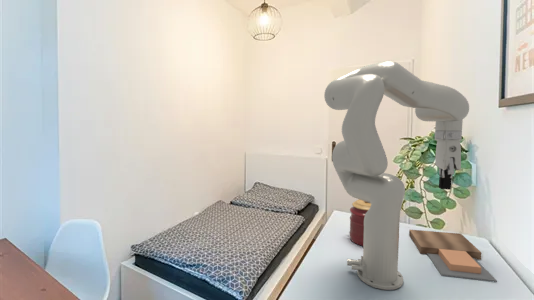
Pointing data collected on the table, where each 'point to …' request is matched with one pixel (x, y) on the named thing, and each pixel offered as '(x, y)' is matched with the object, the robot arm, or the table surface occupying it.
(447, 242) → the brown wooden board
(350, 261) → the robot arm
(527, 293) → the table surface
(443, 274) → the mat
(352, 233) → the canister
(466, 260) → the tile
